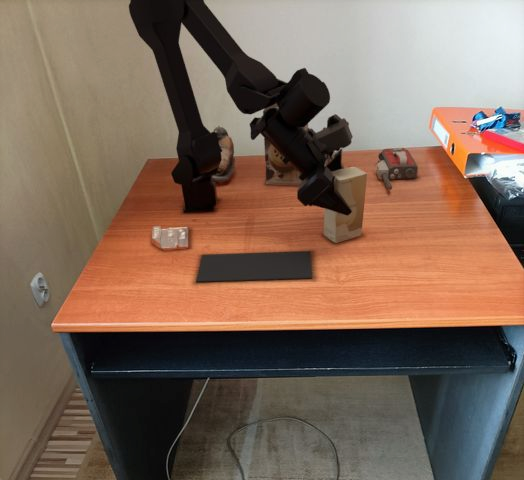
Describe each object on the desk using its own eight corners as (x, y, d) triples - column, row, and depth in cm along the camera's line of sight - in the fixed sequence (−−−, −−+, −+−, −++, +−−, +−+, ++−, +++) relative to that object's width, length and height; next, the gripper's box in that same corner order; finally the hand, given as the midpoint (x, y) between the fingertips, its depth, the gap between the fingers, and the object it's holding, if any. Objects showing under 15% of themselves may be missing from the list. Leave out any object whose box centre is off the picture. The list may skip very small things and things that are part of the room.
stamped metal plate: (154, 232, 104) (153, 226, 103) (188, 229, 104) (187, 222, 103) (151, 252, 98) (150, 245, 97) (188, 248, 98) (187, 241, 97)
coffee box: (265, 185, 119) (261, 111, 108) (271, 174, 124) (267, 102, 113) (304, 186, 117) (304, 111, 107) (308, 175, 122) (309, 102, 111)
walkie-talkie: (369, 160, 127) (384, 194, 111) (371, 142, 124) (386, 174, 108) (405, 158, 126) (425, 192, 111) (408, 140, 123) (428, 172, 108)
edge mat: (196, 282, 89) (195, 281, 89) (202, 256, 96) (202, 254, 96) (312, 279, 88) (312, 277, 88) (310, 252, 95) (310, 250, 94)
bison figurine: (232, 186, 119) (228, 141, 113) (202, 187, 120) (196, 143, 114) (237, 166, 128) (234, 124, 122) (209, 167, 129) (204, 125, 123)
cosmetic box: (335, 244, 96) (337, 180, 88) (322, 235, 99) (323, 172, 91) (363, 235, 98) (368, 172, 90) (350, 226, 101) (354, 164, 93)
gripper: (317, 122, 77) (385, 195, 82) (330, 89, 91) (388, 152, 96) (268, 173, 84) (334, 237, 89) (287, 134, 98) (344, 192, 103)
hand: (352, 202), depth 94 cm, fingers open, 9 cm apart
